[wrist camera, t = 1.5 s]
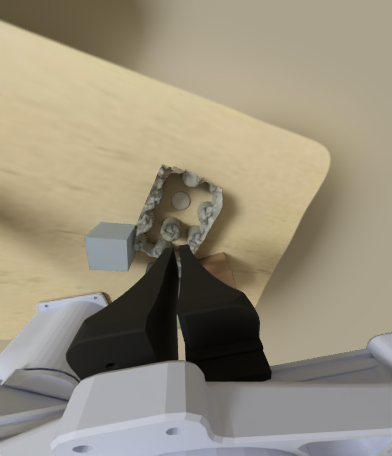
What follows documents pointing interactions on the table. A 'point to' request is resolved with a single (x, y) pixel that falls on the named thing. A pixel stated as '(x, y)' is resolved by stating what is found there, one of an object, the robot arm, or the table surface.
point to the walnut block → (219, 268)
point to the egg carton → (172, 224)
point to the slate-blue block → (111, 246)
